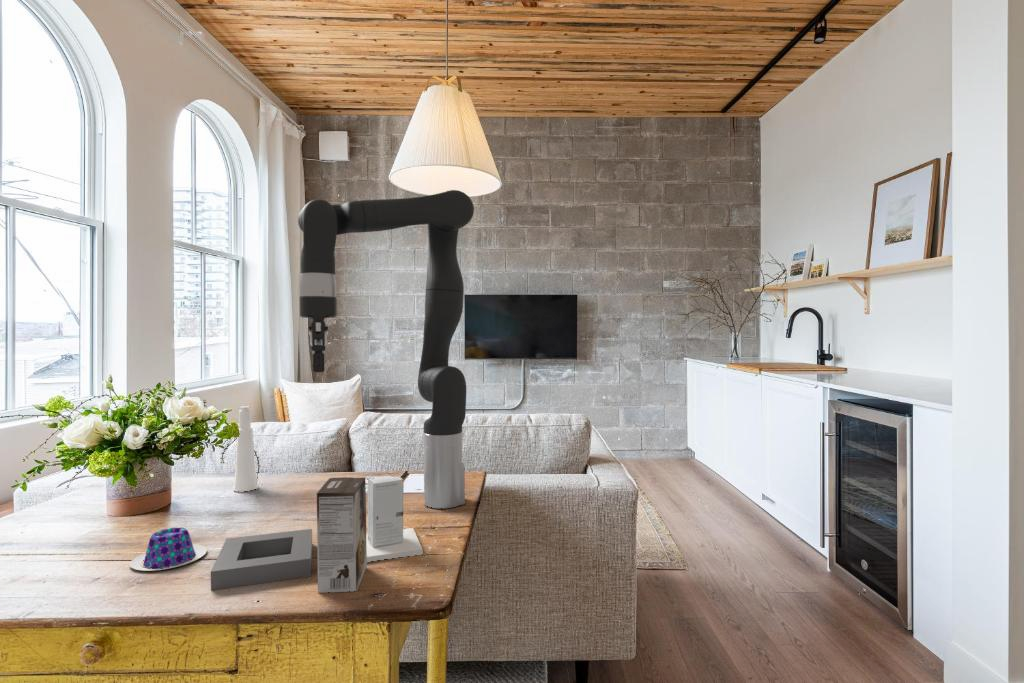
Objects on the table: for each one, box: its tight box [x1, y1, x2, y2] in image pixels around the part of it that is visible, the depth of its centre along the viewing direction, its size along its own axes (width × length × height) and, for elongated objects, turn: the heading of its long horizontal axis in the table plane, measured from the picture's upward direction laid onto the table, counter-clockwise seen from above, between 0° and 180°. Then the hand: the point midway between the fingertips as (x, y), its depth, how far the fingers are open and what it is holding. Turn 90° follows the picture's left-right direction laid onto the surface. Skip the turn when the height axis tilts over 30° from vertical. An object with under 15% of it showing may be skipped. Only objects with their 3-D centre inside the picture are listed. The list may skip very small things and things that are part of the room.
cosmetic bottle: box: [232, 405, 259, 493], centre depth 145 cm, size 6×6×22 cm
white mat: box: [366, 527, 424, 563], centre depth 105 cm, size 12×12×1 cm
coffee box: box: [316, 476, 368, 594], centre depth 91 cm, size 9×6×16 cm
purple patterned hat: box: [129, 526, 208, 572], centre depth 100 cm, size 12×12×5 cm
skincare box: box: [367, 474, 405, 547], centre depth 105 cm, size 6×4×12 cm
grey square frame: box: [210, 528, 313, 591], centre depth 97 cm, size 15×15×3 cm
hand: (319, 370), depth 117 cm, fingers open, 8 cm apart
